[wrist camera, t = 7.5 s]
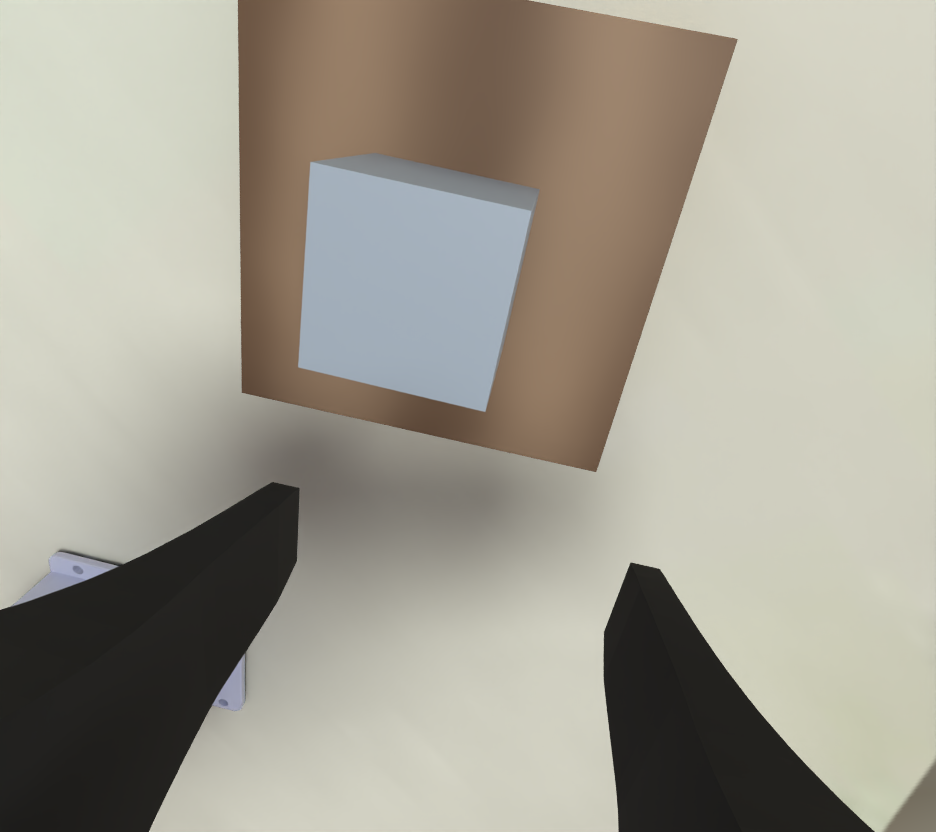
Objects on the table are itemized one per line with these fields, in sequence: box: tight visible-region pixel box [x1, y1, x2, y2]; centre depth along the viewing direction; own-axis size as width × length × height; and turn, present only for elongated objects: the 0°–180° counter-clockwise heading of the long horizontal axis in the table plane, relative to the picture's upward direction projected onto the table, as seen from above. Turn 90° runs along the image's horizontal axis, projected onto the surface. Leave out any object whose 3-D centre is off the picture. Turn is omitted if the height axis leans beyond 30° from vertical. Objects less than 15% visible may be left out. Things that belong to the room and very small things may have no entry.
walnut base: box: [238, 0, 738, 472], centre depth 18 cm, size 12×12×3 cm
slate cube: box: [298, 153, 540, 412], centre depth 15 cm, size 4×4×4 cm
